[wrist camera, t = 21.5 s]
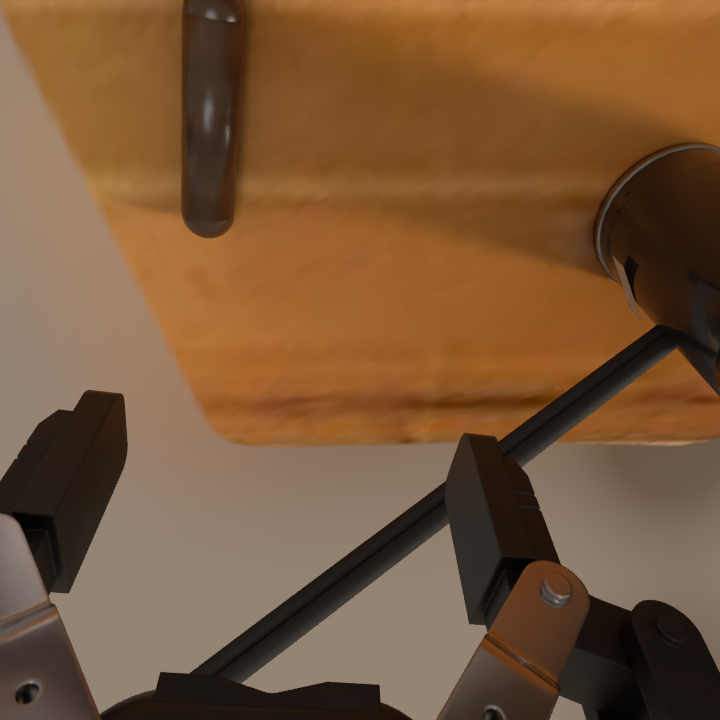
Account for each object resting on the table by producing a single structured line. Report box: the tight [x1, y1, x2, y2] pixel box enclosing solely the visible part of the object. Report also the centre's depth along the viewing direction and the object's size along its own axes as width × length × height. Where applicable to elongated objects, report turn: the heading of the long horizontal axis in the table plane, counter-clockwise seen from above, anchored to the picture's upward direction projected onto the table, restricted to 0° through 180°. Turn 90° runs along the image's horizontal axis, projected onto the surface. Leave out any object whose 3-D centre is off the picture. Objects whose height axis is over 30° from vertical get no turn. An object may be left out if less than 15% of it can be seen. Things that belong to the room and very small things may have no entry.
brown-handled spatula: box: [181, 0, 245, 238], centre depth 29 cm, size 20×3×3 cm, turn 170°
